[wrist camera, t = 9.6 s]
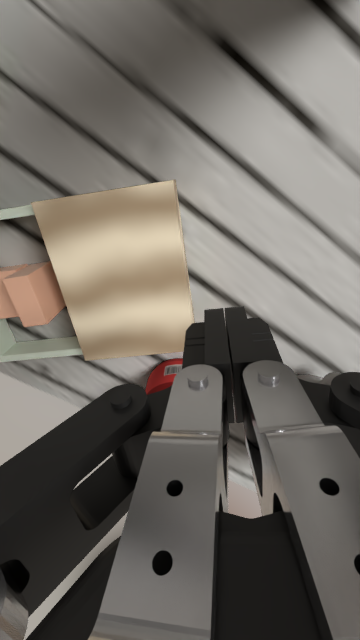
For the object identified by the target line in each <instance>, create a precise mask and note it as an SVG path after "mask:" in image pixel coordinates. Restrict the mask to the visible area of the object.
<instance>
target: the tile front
mask: <svg viewBox="0 0 360 640" xmlns="http://www.w3.org/2000/svg"><path fill="white" fill-rule="evenodd" d="M2 280H3V282H4V284H5V287H6V289H7V291H8V293H9V295H10V297H11V300H12V302H13V304H14V306H15V308H16V311H17V313H18V315H19V317H20V319H21V321H22V324H23V326H24V327H29V326H36V325H44V324H48V323H49V322H50V321H51V320H52V319H53V318H54V317H55V316H56V315H57V314H58V313H59V312H60V311H61V310H62V309H63V308H64V307H65V306H66V303H65V300H64V298H63V295H62V292H61V289H60V286H59V283H58V280H57V277H56V274H55V272H54V269H53V266H52V263H51V261H48V262H42V263H36V264H30V265H28V266H26V267H24V268H23V269H21V270H19V271H17V272H15V273H13V274H11V275H9V276H8V277H6V278H4V279H2Z"/></svg>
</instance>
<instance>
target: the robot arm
mask: <svg viewBox="0 0 360 640" xmlns="http://www.w3.org/2000/svg"><path fill="white" fill-rule="evenodd" d="M225 321H226V326H225ZM232 391H233V394H232ZM233 399H234V407H235V414H236V422H237V423H241V422H244V428H245V441H246V448H247V452H248V457H249V461H250V465H251V469H252V473H253V478H254V482H255V486H256V490H257V494H258V498H259V503H260V507H261V513H262V517H258V518H254V519H248V518H244V517H240V516H236V515H233V514H229V513H228V439H229V423H234V409H233ZM111 453H112V455H113V456H112V457H110V458H109V459H108V460H107V461H106V462H105V463H104V464H102V465H101V466H100V467H99V468H98V469H97V470H96V471H94V472H93V473H92V474H91V475H90V476H89V477H88V478H86V479H85V480H84V481H83V482H82V483H81V484H80V485H79V486H77V488H75V486H76V485H77V484H78V482H79V481H81V480H82V479H83V478H84V477H85V476H86V475H87V474H89V473H90V472H91V471H92V470H93V469H94V468H96V467H97V466H98V465H99V464H100V463H101V462H102V461H104V460H105V459H106V458H107V457H108V456H109V455H110V454H111ZM74 488H75V489H74ZM73 489H74V490H73ZM127 512H128V514H127V517H126V521H125V524H124V528H123V531H122V535H121V536H120V537H119V538H117V539H116V540H115V541H113V542H112V543H111V544H110V545H109V546H108V547H107V548H105V549H104V551H102V552H101V553H100V554H99V555H98V557H97V558H96V559H95V560H94V561H93V562H92V563H91V564H90V566H89V567H88V568H87V569H86V570H85V571H84V573H83V574H82V575H81V576H80V578H78V580H77V581H76V582H75V583H74V584H73V585H72V586H71V588H70V589H69V590H68V591H67V592H66V593H65V595H64V596H63V597H62V598H61V599H60V600H59V602H58V603H57V604H56V605H55V606H54V607H53V609H52V610H51V611H50V612H49V613H48V614H47V615H46V617H45V618H44V619H43V620H42V621H41V622H40V624H39V625H38V626H37V627H36V628H35V630H34V631H33V632H32V633H31V634H30V635H29V636H28V638H27V639H26V640H360V373H359V372H347V373H342V374H339V375H337V376H336V377H334V378H333V380H332V381H331V385H325V384H318V383H313V382H308V381H304V380H302V379H299V378H297V376H296V375H295V373H294V371H293V370H292V369H291V368H290V367H288V366H287V365H285V364H283V361H282V359H281V356H280V354H279V351H278V349H277V346H276V344H275V341H274V340H273V336H272V334H271V331H270V329H269V326H268V324H267V323H266V322H264V321H263V320H262V319H260V318H249V319H247V316H246V312H245V309H244V306H242V307H231V308H225V318H224V311H223V308H220V309H209V310H205V322H202V323H192V324H191V325H190V326H189V327H188V329H187V330H186V334H185V343H184V352H183V361H182V370H181V371H179V372H178V373H177V374H176V376H175V378H174V381H173V385H172V386H170V387H168V388H166V389H164V390H161V391H158V392H155V393H151V394H148V395H147V394H146V391H145V390H144V389H143V388H142V387H140V386H138V385H134V384H125V385H120V386H117V387H114V388H112V389H110V390H108V391H107V392H105V393H104V394H103V395H101V396H100V397H98V398H97V399H95V400H94V401H93V402H91V403H90V404H88V405H87V406H85V407H84V408H83V409H81V410H80V411H78V412H77V413H75V414H74V415H73V416H71V417H70V418H68V419H67V420H66V421H64V422H63V423H61V424H60V425H58V426H57V427H55V428H54V429H53V430H51V431H50V432H48V433H47V434H46V435H44V436H43V437H41V438H40V439H38V440H37V441H35V442H34V443H33V444H31V445H30V446H28V447H27V448H26V449H24V450H23V451H21V452H20V453H18V454H17V455H16V456H14V457H13V458H11V459H10V460H8V461H7V462H5V463H4V464H3V465H1V466H0V640H23V639H24V636H25V633H26V629H27V623H28V617H29V616H30V615H31V614H32V613H33V612H34V611H35V610H36V609H37V608H38V606H40V605H41V603H42V602H43V601H44V600H45V599H46V598H47V597H48V596H49V595H50V594H51V593H52V592H53V591H54V589H56V587H57V586H58V585H59V584H60V583H61V582H62V581H63V580H64V579H65V578H66V577H67V575H69V574H70V572H71V571H72V570H73V569H74V568H75V567H76V566H77V565H78V564H79V563H80V562H81V561H82V559H84V557H85V556H86V555H87V554H88V553H89V552H90V551H91V550H92V549H93V548H94V547H95V546H96V545H97V544H98V542H100V540H101V539H102V538H103V537H104V536H105V535H106V534H107V533H108V532H109V531H110V530H111V529H112V528H113V527H114V525H115V524H116V523H117V522H118V521H119V520H120V519H121V518H122V517H123V516H124V515H125V514H126V513H127Z"/></svg>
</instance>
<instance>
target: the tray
mask: <svg viewBox="0 0 360 640" xmlns="http://www.w3.org/2000/svg"><path fill="white" fill-rule="evenodd" d="M29 215H35V214H34V211H33V208H32V205H26V206H20V207H13V208H7V209H1V210H0V220H3V219H10V218H16V217H23V216H29ZM82 354H83V353H82V350H81V347H80V344H79V341H78V338H77V336H73V337H64V338H54V339H44V340H35V341H25V342H16V340H15V338H14V336H13V334H12V332H11V329H10V327H9V325H8V323H7V321H6V319H5V318H3V319H0V362H9V361H19V360H30V359H40V358H51V357H61V356H71V355H82Z"/></svg>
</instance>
